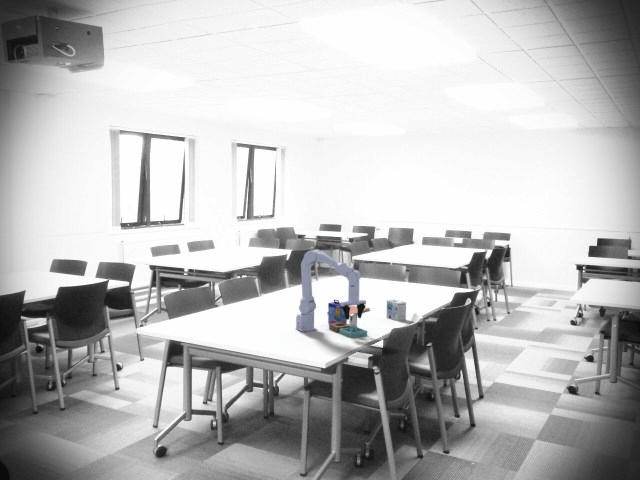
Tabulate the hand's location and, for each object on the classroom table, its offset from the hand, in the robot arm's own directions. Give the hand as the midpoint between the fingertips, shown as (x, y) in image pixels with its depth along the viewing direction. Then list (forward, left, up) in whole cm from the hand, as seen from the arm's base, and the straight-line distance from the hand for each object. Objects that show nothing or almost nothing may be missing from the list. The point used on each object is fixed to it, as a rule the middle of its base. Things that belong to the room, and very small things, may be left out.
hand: (353, 318), depth 298 cm
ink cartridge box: (+5, +24, -9) cm, 26 cm away
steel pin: (0, 0, -8) cm, 8 cm away
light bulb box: (+44, +20, -9) cm, 49 cm away
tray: (0, 0, -9) cm, 9 cm away
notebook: (+30, +51, -9) cm, 60 cm away
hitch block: (-1, +11, -9) cm, 14 cm away
